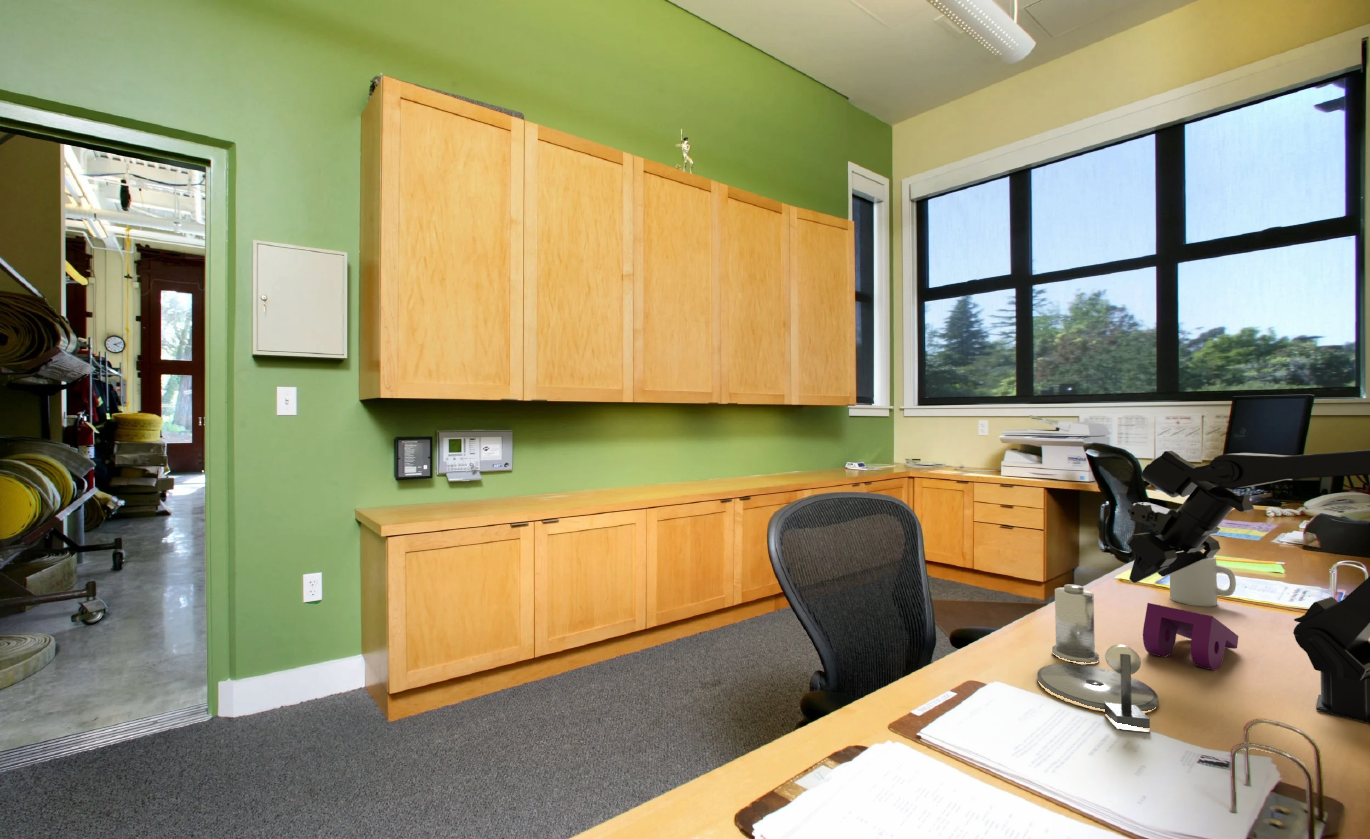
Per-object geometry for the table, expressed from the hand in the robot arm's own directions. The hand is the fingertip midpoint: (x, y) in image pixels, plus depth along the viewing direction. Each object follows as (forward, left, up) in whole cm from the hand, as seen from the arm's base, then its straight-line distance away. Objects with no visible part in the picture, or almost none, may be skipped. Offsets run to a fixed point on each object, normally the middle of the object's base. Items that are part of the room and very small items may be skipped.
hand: (1146, 577), depth 111 cm
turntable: (-26, +2, -14) cm, 29 cm away
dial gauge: (-35, -5, -14) cm, 38 cm away
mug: (+44, -1, -14) cm, 46 cm away
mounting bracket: (+5, -6, -14) cm, 16 cm away
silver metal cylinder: (-13, +8, -14) cm, 21 cm away
